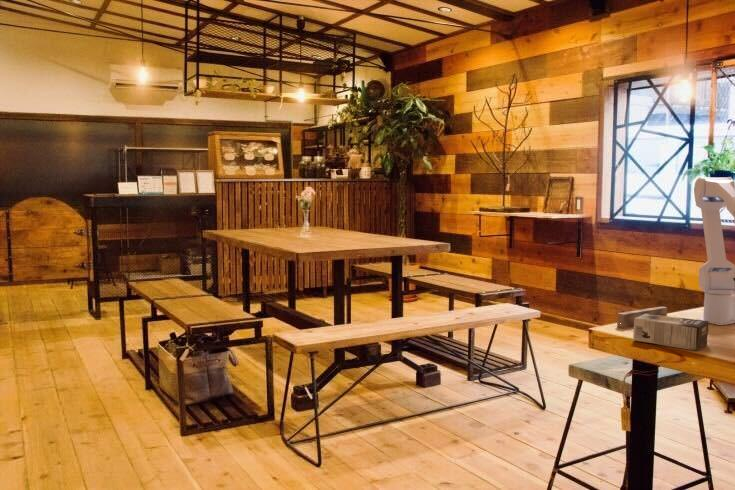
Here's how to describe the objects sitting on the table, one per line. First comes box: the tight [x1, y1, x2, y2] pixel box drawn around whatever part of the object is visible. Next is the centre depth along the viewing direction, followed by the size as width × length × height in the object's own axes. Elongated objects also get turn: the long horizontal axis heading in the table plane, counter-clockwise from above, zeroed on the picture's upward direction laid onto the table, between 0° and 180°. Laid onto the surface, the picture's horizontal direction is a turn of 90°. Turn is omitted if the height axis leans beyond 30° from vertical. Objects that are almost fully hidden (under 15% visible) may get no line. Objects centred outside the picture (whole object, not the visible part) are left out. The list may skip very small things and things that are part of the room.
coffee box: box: [632, 314, 710, 352], centre depth 175 cm, size 9×6×16 cm
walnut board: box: [616, 306, 668, 329], centre depth 198 cm, size 20×2×4 cm, turn 121°
